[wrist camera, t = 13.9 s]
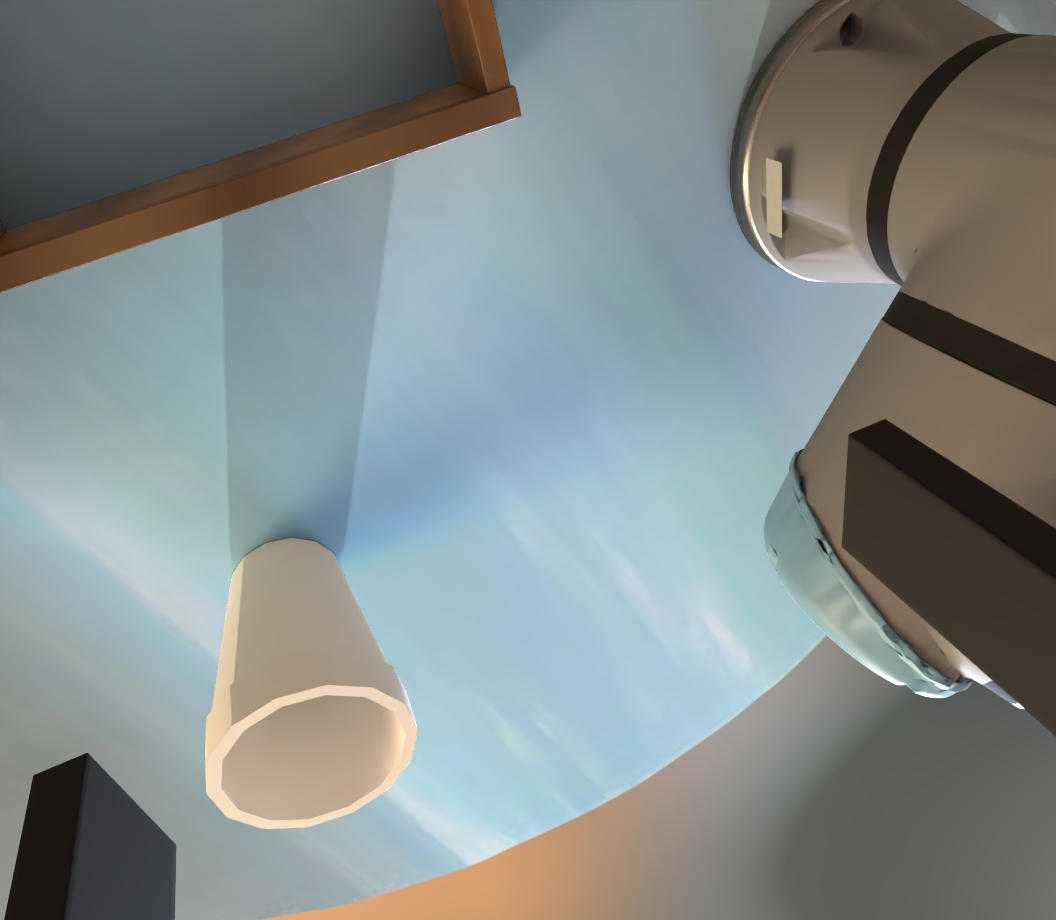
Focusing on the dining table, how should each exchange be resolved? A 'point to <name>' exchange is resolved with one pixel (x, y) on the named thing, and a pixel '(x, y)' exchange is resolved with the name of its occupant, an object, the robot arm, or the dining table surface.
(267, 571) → the foam cup
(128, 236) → the brown wooden shallow box
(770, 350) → the dining table surface
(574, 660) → the dining table surface
